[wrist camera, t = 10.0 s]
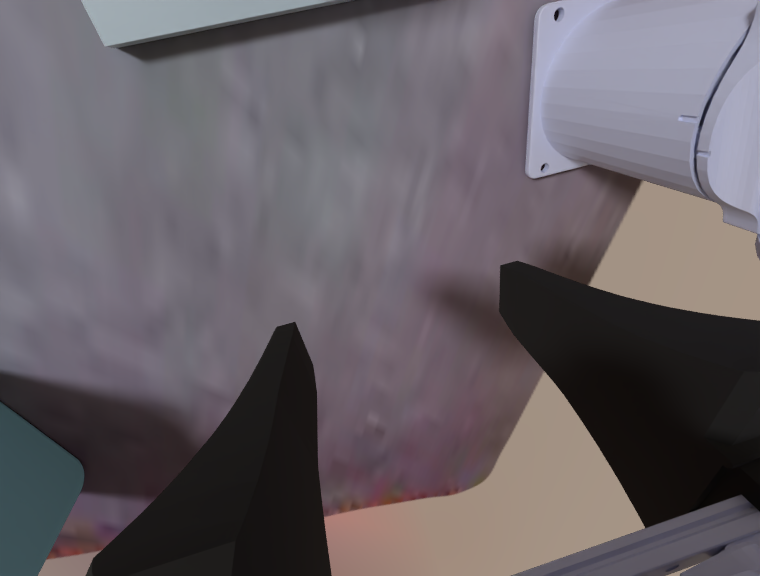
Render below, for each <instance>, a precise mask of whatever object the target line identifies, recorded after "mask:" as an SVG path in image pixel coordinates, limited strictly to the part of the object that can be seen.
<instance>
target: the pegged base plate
mask: <svg viewBox="0 0 760 576" xmlns="http://www.w3.org/2000/svg"><path fill="white" fill-rule="evenodd" d="M81 1H82V3H83V5H84V7H85V9H86V11H87V13H88V15H89V17H90V19H91V21H92V23H93V24H94V26H95V28H96V30H97V32H98V34H99V36H100V38H101V40H102V42H103V44H104V46H105V47H112V48H120V47H125V46H130V45H135V44H140V43H145V42H150V41H155V40H160V39H165V38H170V37H175V36H180V35H185V34H190V33H195V32H199V31H204V30H209V29H214V28H219V27H224V26H229V25H234V24H239V23H244V22H249V21H254V20H259V19H264V18H269V17H274V16H279V15H284V14H289V13H294V12H299V11H304V10H309V9H314V8H319V7H323V6H328V5H333V4H338V3H343V2H348V1H353V0H81Z"/></svg>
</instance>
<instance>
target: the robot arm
mask: <svg viewBox="0 0 760 576" xmlns="http://www.w3.org/2000/svg"><path fill="white" fill-rule="evenodd" d="M556 10H558V11H559V16H558V19H557V21H555V20H554V13H555V11H556ZM543 164H545V167H544V169H543V170H541V166H542V165H543ZM590 164H591V165H594V166H598V167H601V168H604V169H608V170H611V171H614V172H618V173H621V174H624V175H627V176H631V177H634V178H637V179H641V180H644V181H647V182H650V183H654V184H657V185H660V186H664V187H667V188H670V189H674V190H677V191H680V192H683V193H687V194H690V195H693V196H697V197H700V198H703V199H706V200H710V201H713V202H716V203H718V204H719V205H720V206H721V207H722V209H723V222H724V223H728V224H731V225H733V226H736V227H739V228H742V229H745V230H748V231H751V232H754V233H756V234H758V235H757V238H756V243H755V246H756V252H757V256H758V258H759V259H760V0H562V1H557V2H552V3H548V4H545V5H543V6H541V7H540V8H539V9H538V11H537V13H536V16H535V22H534V38H533V54H532V70H531V86H530V103H529V119H528V135H527V151H526V167H525V173H526V175H527V176H528V177H530V178H532V179H534V178H539V177H543V176H547V175H551V174H555V173H559V172H563V171H567V170H571V169H574V168H578V167H582V166H586V165H590ZM499 312H500V314H501V315H502V317H503V319H504V320H505V322H506V324H507V325H508V327H509V328H510V330H511V331H512V333H513V334H514V336H515V337H516V338H517V339H518V340H519V342H520V343H521V344H522V345H523V346H524V348H525V349H526V350H527V351H528V352H529V354H530V355H531V356H532V357H533V358H534V359H535V361H536V362H537V363H538V364H539V365H540V366H541V368H542V369H543V370H544V371H545V372H546V373H547V375H548V376H549V377H550V378H551V379H552V380H553V382H554V383H555V384H556V385H557V387H558V388H559V389H560V391H561V392H562V393H563V394H564V396H565V397H566V399H567V400H568V402H569V403H570V404H571V406H572V407H573V409H574V410H575V412H576V413H577V415H578V416H579V418H580V419H581V420H582V422H583V423H584V425H585V427H586V428H587V430H588V431H589V433H590V434H591V436H592V437H593V439H594V441H595V442H596V444H597V445H598V447H599V448H600V450H601V451H602V453H603V455H604V457H605V458H606V460H607V461H608V463H609V465H610V466H611V468H612V470H613V471H614V473H615V475H616V476H617V478H618V480H619V481H620V483H621V485H622V487H623V488H624V490H625V492H626V494H627V495H628V497H629V499H630V501H631V503H632V504H633V506H634V508H635V510H636V511H637V513H638V515H639V517H640V519H641V521H642V522H643V524H644V526H645V529H642V530H639V531H637V532H634V533H631V534H628V535H625V536H622V537H620V538H617V539H614V540H611V541H608V542H605V543H603V544H600V545H597V546H594V547H591V548H588V549H585V550H583V551H580V552H577V553H574V554H571V555H568V556H566V557H563V558H560V559H557V560H554V561H551V562H549V563H546V564H543V565H540V566H537V567H534V568H532V569H529V570H526V571H523V572H520V573H517V574H515V575H512V576H666V575H669V574H671V573H674V572H677V571H680V570H682V569H685V568H688V567H690V566H693V565H696V564H698V565H696V566H694V567H692V568H690V569H688V570H686V571H685V572H682V573H681V574H680V576H760V321H757V320H748V319H740V318H732V317H725V316H717V315H711V314H704V313H698V312H692V311H687V310H681V309H676V308H670V307H666V306H661V305H656V304H652V303H647V302H644V301H639V300H635V299H631V298H627V297H624V296H620V295H616V294H613V293H610V292H606V291H603V290H600V289H597V288H593V287H590V286H587V285H584V284H581V283H579V282H576V281H573V280H570V279H567V278H564V277H562V276H559V275H556V274H554V273H551V272H548V271H545V270H543V269H540V268H537V267H534V266H532V265H529V264H526V263H523V262H519V261H515V262H511V263H508V264H504V265H500V302H499ZM699 563H700V564H699ZM86 576H331V568H330V561H329V554H328V546H327V539H326V531H325V524H324V515H323V507H322V499H321V489H320V480H319V471H318V442H317V390H316V382H315V375H314V368H313V364H312V361H311V359H310V356H309V354H308V352H307V349H306V347H305V344H304V342H303V340H302V337H301V335H300V332H299V330H298V328H297V325H296V323H295V322H293V323H289V324H286V325H282V326H278V327H277V328H276V329H275V331H274V333H273V335H272V337H271V339H270V341H269V343H268V345H267V347H266V349H265V351H264V353H263V355H262V357H261V359H260V361H259V363H258V364H257V366H256V368H255V370H254V372H253V374H252V375H251V377H250V379H249V381H248V382H247V384H246V386H245V387H244V389H243V391H242V392H241V394H240V396H239V397H238V399H237V400H236V402H235V404H234V405H233V407H232V408H231V410H230V411H229V413H228V414H227V416H226V417H225V418H224V420H223V421H222V422H221V424H220V425H219V427H218V428H217V429H216V431H215V432H214V433H213V434H212V436H211V437H210V438H209V439H208V441H207V442H206V443H205V444H204V445H203V447H202V448H201V449H200V450H199V451H198V453H197V454H196V455H195V456H194V457H193V459H192V460H191V461H190V462H189V463H188V465H187V466H186V467H185V468H184V469H183V470H182V471H181V473H180V474H179V475H178V476H177V477H176V478H175V479H174V480H173V481H172V482H171V483H170V484H169V486H168V487H167V488H166V489H165V490H164V491H163V492H162V493H161V494H160V495H159V496H158V497H157V498H156V499H155V500H154V501H153V502H152V503H151V504H150V505H149V506H148V507H147V508H146V509H145V510H144V511H143V512H142V513H141V514H140V515H139V516H138V517H137V518H136V519H135V520H134V521H133V522H132V523H131V524H129V525H128V526H127V527H126V528H125V529H124V530H123V531H122V532H121V533H120V534H119V535H118V536H117V537H116V538H115V539H114V540H113V541H111V542H110V543H109V544H108V545H107V546H106V547H105V548H104V549H103V550H102V551H101V552H100V553H98V554H97V555H96V556H95V557H94V558H93V560H92V563H91V565H90V567H89V569H88V572H87V574H86Z"/></svg>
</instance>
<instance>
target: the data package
mask: <svg viewBox="0 0 760 576" xmlns="http://www.w3.org/2000/svg"><path fill="white" fill-rule="evenodd" d="M83 484H84V469H83V466H82V464H81V463H80V461H79V460H78V459H77V458H75V457H74V456H73V455H71V454H70V453H69V452H67V451H66V450H65V449H63V448H62V447H61V446H59V445H58V444H57V443H55V442H54V441H53V440H51V439H50V438H49V437H47V436H46V435H45V434H43V433H42V432H41V431H39V430H38V429H37V428H35V427H34V426H33V425H31V424H30V423H28V422H27V421H26V420H24V419H23V418H22V417H20V416H19V415H18V414H16V413H15V412H14V411H12V410H11V409H10V408H8V407H7V406H6V405H4V404H3V403H2V402H0V576H38V574H39V572H40V570H41V568H42V566H43V564H44V562H45V560H46V558H47V556H48V554H49V553H50V551H51V549H52V547H53V545H54V543H55V541H56V539H57V537H58V535H59V533H60V531H61V529H62V527H63V525H64V523H65V521H66V519H67V517H68V515H69V513H70V511H71V510H72V508H73V506H74V504H75V502H76V500H77V498H78V496H79V494H80V492H81V490H82V487H83Z"/></svg>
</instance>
